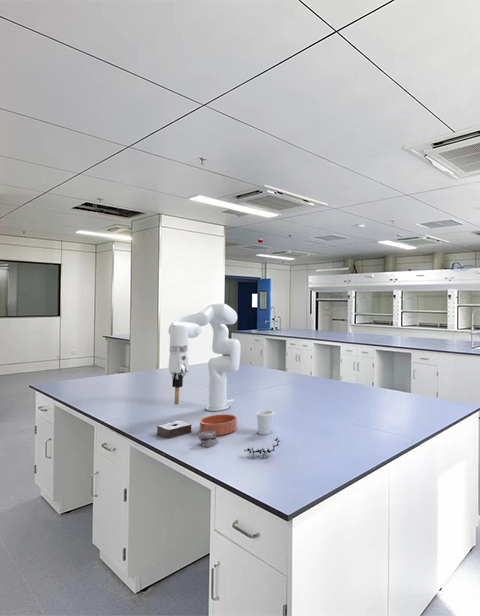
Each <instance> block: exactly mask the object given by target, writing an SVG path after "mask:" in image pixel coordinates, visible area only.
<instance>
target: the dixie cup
mask: <svg viewBox="0 0 480 616" xmlns="http://www.w3.org/2000/svg"><path fill="white" fill-rule="evenodd" d="M255 414H256V419H257V428H258V434H259V435H268V434H271V433H272V426H273V420H274V414H275V411H274V410H270V409H269V410H260V411H257V412H256V413H255Z"/></svg>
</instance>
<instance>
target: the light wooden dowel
mask: <svg viewBox="0 0 480 616" xmlns="http://www.w3.org/2000/svg"><path fill="white" fill-rule="evenodd" d="M175 380H176V377H175ZM179 404H180V387H178V388H175V387H174V405H175V406H176V405H179Z"/></svg>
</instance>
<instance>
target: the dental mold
mask: <svg viewBox="0 0 480 616" xmlns="http://www.w3.org/2000/svg"><path fill="white" fill-rule="evenodd" d="M213 435H214V436H213ZM198 439H199V441H200V445H199V446H202V447H205V448H211V447H213V446H214V445H215V444H217V436H216V434H215V431H205V432H201V433H200V432H199V433H198Z"/></svg>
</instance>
